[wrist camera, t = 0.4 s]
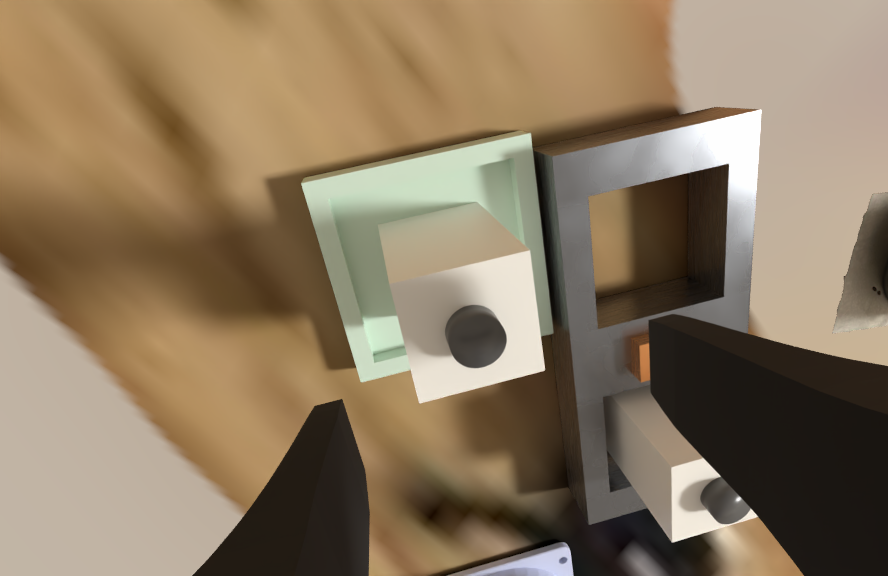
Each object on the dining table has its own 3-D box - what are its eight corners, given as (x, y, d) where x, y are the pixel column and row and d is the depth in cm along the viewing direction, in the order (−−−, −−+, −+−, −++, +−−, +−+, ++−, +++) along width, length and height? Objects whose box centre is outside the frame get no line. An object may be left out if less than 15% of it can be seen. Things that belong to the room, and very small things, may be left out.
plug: (492, 292, 21) (554, 384, 15) (399, 315, 21) (422, 419, 15) (477, 201, 20) (540, 259, 13) (377, 224, 20) (391, 295, 13)
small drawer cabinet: (706, 448, 28) (748, 491, 25) (568, 487, 27) (595, 536, 24) (715, 107, 21) (776, 110, 18) (529, 148, 20) (559, 159, 17)
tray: (543, 321, 23) (553, 333, 22) (360, 367, 22) (360, 382, 21) (520, 130, 20) (530, 133, 19) (303, 177, 19) (300, 183, 18)
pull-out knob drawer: (671, 420, 27) (777, 530, 20) (600, 440, 26) (683, 559, 20) (671, 356, 25) (785, 453, 18) (595, 376, 25) (684, 482, 18)
